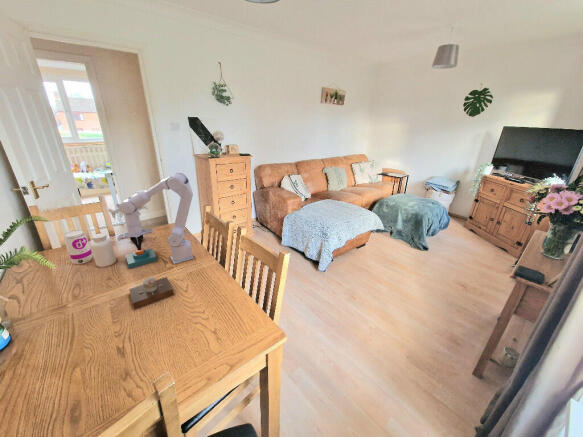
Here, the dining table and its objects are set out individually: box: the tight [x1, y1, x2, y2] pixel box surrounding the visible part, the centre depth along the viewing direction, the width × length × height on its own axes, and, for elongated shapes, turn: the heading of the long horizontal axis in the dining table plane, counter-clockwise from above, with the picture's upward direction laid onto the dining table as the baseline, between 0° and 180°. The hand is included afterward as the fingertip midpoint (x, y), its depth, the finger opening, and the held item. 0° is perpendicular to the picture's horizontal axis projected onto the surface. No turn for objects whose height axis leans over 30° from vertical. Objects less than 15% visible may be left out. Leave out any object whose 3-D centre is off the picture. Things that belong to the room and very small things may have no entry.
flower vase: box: [106, 198, 148, 244], centre depth 133 cm, size 13×18×25 cm
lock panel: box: [128, 276, 175, 310], centre depth 97 cm, size 14×10×3 cm
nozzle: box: [134, 247, 144, 255], centre depth 118 cm, size 4×4×2 cm
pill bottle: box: [89, 232, 117, 268], centre depth 114 cm, size 8×8×15 cm
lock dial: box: [142, 277, 157, 293], centre depth 96 cm, size 4×4×4 cm
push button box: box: [125, 248, 158, 270], centre depth 119 cm, size 12×10×4 cm
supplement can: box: [62, 229, 94, 265], centre depth 115 cm, size 8×8×15 cm
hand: (139, 249), depth 118 cm, fingers closed
